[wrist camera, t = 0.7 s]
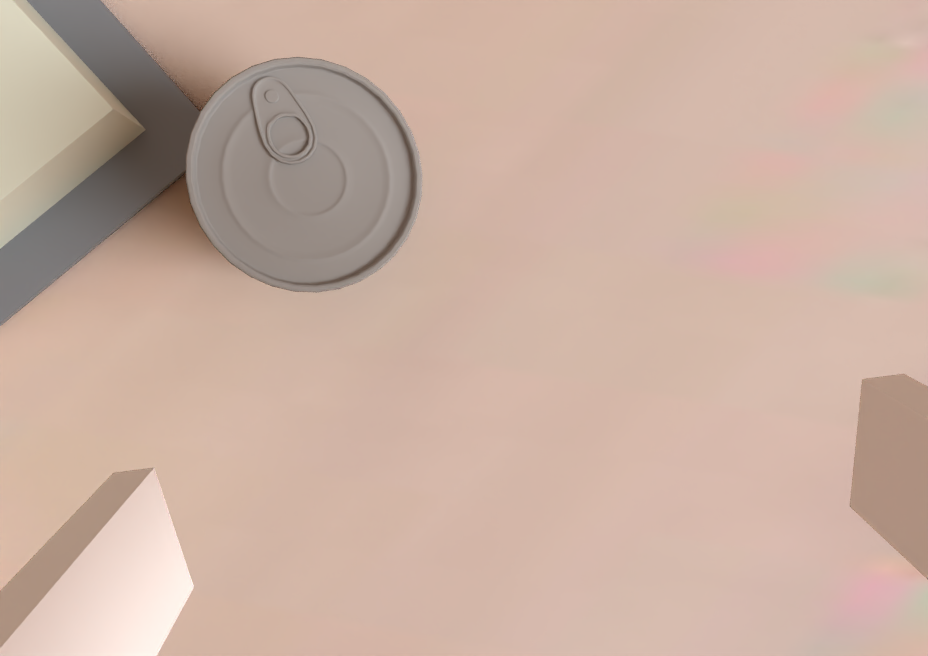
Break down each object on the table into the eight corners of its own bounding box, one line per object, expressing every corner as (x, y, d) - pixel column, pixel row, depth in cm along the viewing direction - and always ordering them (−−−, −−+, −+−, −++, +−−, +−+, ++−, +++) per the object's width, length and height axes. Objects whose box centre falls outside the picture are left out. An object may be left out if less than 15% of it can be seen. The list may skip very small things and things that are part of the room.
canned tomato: (422, 248, 32) (457, 241, 22) (284, 306, 31) (249, 329, 21) (362, 105, 31) (367, 22, 20) (216, 161, 30) (140, 105, 19)
